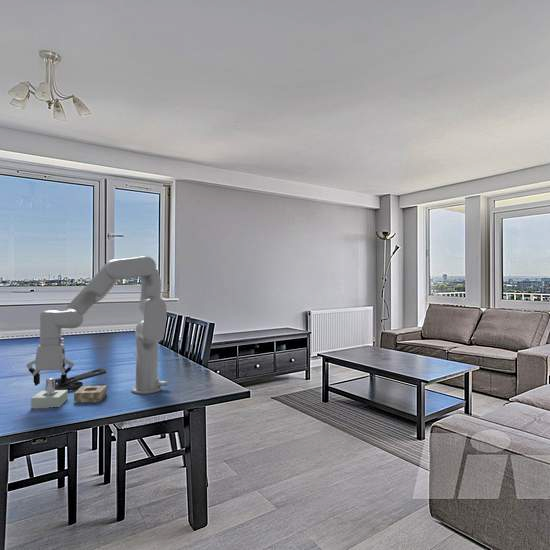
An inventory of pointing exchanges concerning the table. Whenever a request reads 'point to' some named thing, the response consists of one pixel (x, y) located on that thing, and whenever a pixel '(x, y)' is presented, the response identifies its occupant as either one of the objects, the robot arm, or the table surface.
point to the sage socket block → (49, 399)
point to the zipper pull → (73, 381)
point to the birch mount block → (90, 393)
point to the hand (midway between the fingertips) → (50, 384)
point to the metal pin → (50, 386)
